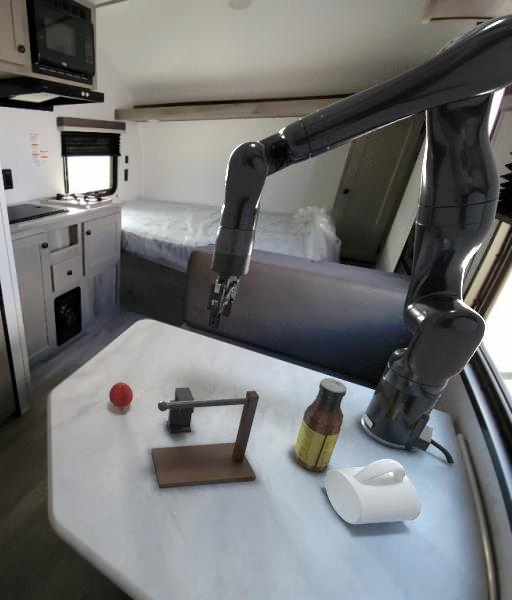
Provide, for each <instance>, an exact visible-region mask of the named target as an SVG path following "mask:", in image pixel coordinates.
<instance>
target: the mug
mask: <svg viewBox="0 0 512 600" xmlns="http://www.w3.org/2000/svg"><path fill="white" fill-rule="evenodd" d="M324 487H325V491H326V495H327V497H328V500H329V502H330V504H331V506H332V507H333V509H334V510H335V512H336V513H337V515H338V516H339V517H340V518H341V519H342V520H343V521H345V522H346V523H348V524H351V525H364V524H365V525H366V524H380V523H392V522H394V523H395V522H405V521H406V522H408V521H414V520H416V519H418V518H419V516H420V514H421V511H422V503H421V499H420V495H419V494H418V491H417V489H416V487H415V486H414V484H413V482H412V481H411V480H410V479H409V478H408V477H407V476H406V470H405V468H404V466H403V465H402V464H401V463H400V462H398V461H397V460H394V459H391V458H381V459H377V460H375V461H373V462H370V463H369V464H367V465H366V466H354V467H352V466H351V467H339V468H338V467H337V468H335V467H334V468H331V469H329V470H328V471H327V472H326V474H325V478H324Z"/></svg>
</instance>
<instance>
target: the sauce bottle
mask: <svg viewBox="0 0 512 600" xmlns="http://www.w3.org/2000/svg"><path fill="white" fill-rule="evenodd" d="M318 388H319V390H318V393H317V395H316V397H315V399H314V400H313V402H311V403H310V404H309V405H308V406H307V407H306V409H305V411H304V414H303V416H302V420H301V423H300V427H299V429H298V434H297V438H296V441H295V444H294V453H293V454H294V457H295V459H296V461H297V462H298V463H299V464H300V465H301V466H302V467H304V468H306V469H308V470H310V471H312V472H313V471H314V472H321V471H324V470H326V469H327V467H328V464H329V463H330V461H331V458H332V456H333V453H334V450H335V448H336V444H337V441H338V439H339V436H340V433H341V430H342V429H341V428H342V425H343V421H344V413H343V411H342V407H341V405H342V402H343V397H345V396H346V394H347V389H348V388H347V386H346V385H345V384H344V383H343V382H341V381H340V380H337V379H335V378H331V377H326V378H322V379H321V380H320V382H319V385H318Z"/></svg>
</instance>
